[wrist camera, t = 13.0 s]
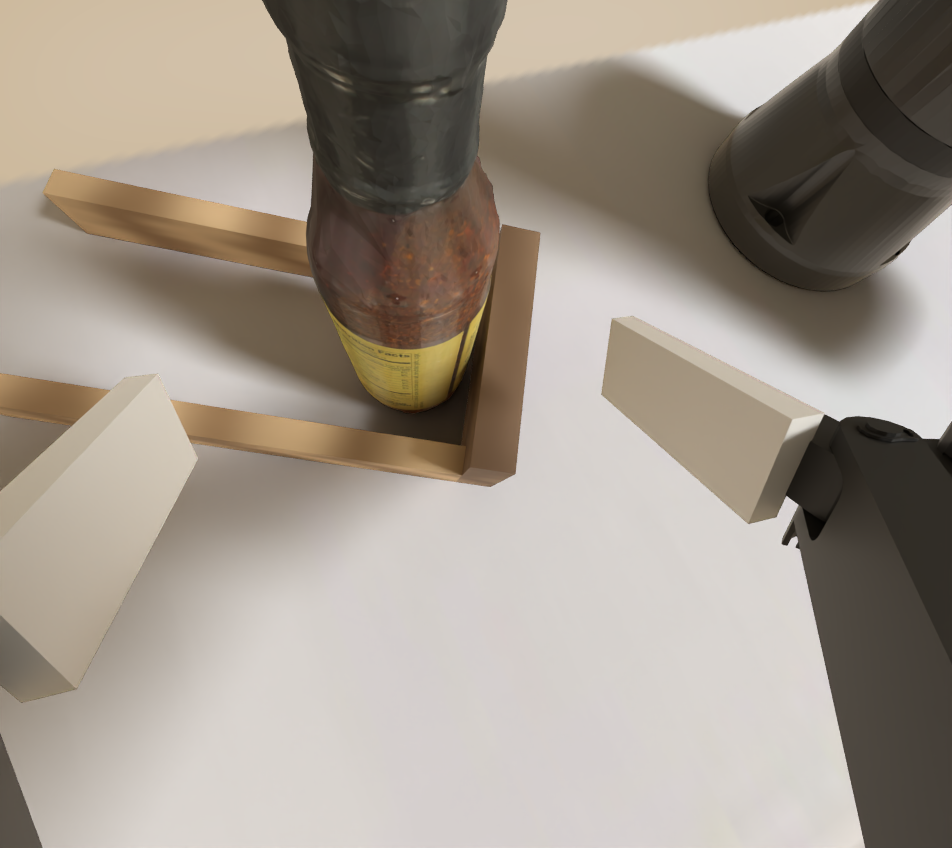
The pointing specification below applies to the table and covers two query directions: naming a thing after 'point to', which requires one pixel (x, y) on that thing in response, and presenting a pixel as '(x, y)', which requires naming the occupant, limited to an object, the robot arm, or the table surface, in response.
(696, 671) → the table surface
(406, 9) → the sauce bottle
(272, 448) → the oak guide channel
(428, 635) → the table surface
